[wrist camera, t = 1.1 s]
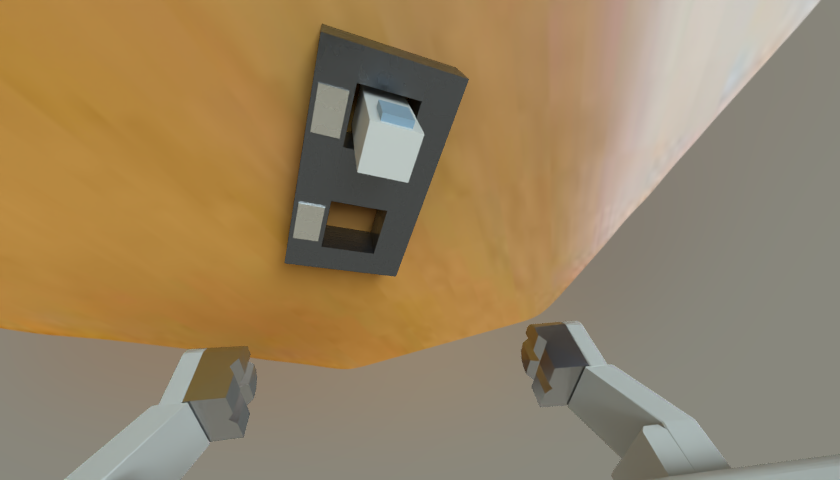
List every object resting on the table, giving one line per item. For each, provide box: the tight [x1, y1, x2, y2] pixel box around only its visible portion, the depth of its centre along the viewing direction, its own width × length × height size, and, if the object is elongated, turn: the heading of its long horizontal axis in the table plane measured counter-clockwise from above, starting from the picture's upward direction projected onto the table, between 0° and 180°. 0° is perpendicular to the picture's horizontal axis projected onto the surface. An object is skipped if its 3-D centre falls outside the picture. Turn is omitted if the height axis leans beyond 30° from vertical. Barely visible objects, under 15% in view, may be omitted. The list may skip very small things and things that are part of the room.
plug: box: [352, 84, 424, 183], centre depth 31 cm, size 4×5×10 cm
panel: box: [285, 24, 469, 276], centre depth 36 cm, size 12×22×4 cm, turn 162°
